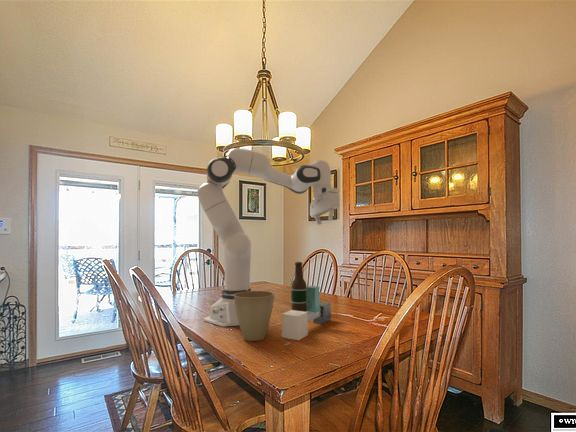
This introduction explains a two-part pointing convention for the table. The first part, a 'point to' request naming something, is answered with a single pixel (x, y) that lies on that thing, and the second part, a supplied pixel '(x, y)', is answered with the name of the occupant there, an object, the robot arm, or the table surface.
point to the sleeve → (324, 313)
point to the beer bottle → (298, 290)
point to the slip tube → (313, 303)
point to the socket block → (294, 324)
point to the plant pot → (254, 313)
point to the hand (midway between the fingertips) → (324, 222)
